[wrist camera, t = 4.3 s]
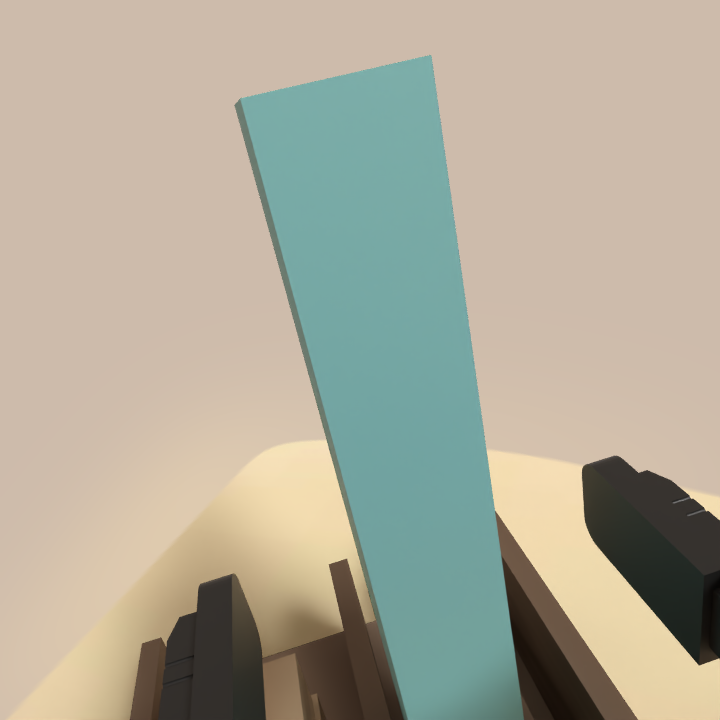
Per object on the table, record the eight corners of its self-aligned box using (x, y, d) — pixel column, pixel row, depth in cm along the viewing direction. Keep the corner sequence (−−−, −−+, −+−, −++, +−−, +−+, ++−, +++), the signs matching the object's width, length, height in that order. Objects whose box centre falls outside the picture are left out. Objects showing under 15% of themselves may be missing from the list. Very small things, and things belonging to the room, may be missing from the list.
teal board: (467, 941, 16) (240, 98, 7) (415, 763, 21) (234, 105, 12) (550, 908, 17) (431, 54, 8) (480, 739, 21) (354, 78, 12)
